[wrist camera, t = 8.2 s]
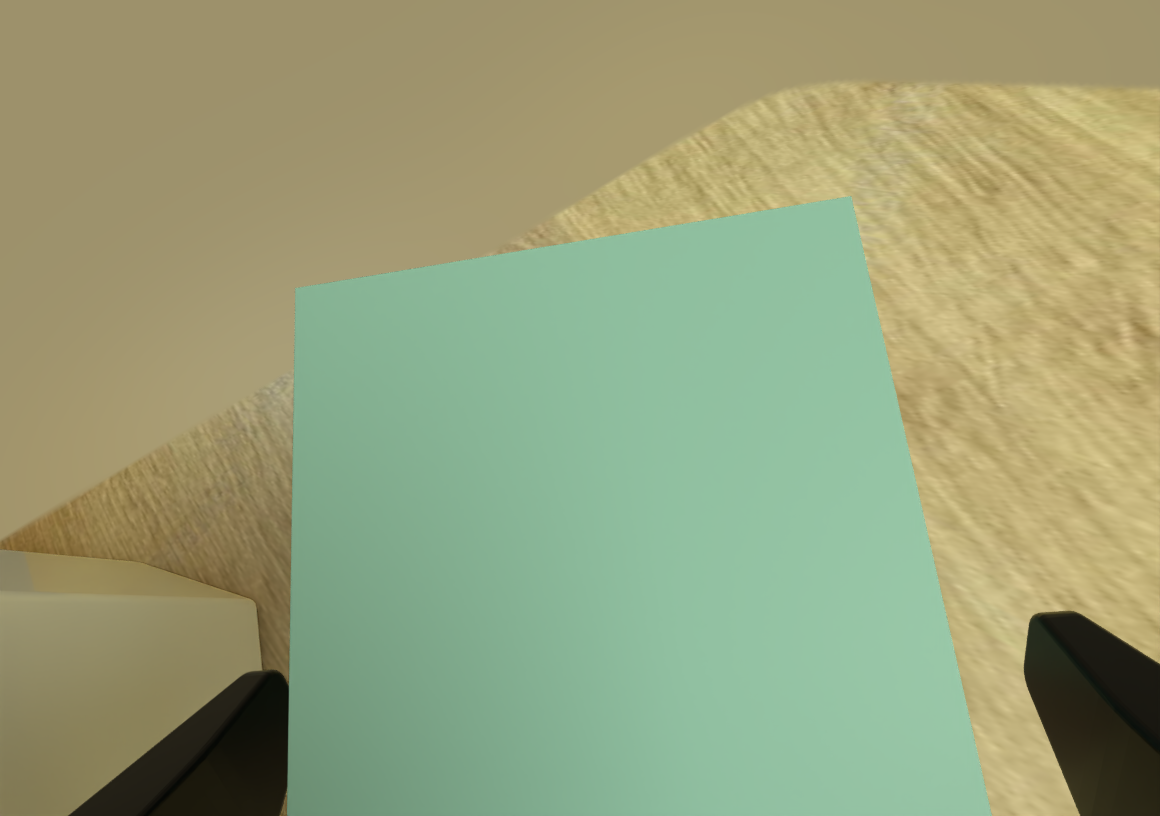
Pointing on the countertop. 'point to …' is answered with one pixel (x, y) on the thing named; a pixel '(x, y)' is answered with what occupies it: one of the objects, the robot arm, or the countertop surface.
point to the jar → (104, 669)
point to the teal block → (616, 538)
